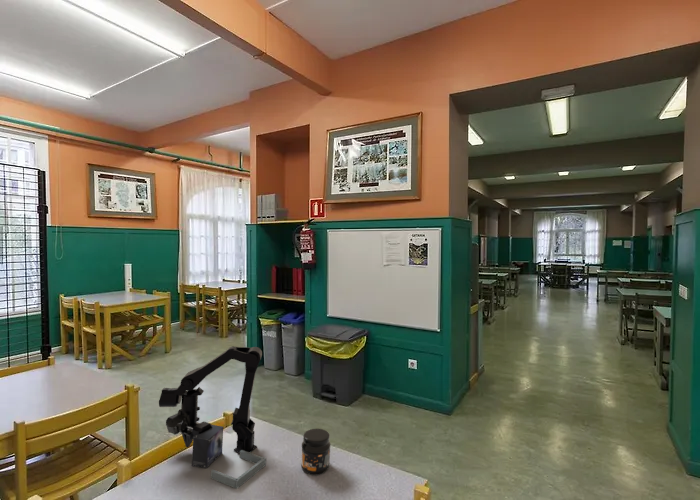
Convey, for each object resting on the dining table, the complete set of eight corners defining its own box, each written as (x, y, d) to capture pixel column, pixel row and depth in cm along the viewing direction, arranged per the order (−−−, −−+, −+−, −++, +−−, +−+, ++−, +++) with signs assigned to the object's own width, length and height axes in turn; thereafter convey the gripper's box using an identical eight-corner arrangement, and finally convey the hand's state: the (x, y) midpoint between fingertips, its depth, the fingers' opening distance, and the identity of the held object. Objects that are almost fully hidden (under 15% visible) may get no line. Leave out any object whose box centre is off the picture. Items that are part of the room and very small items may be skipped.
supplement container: (294, 468, 130) (295, 435, 130) (314, 456, 139) (315, 424, 139) (316, 480, 124) (317, 445, 124) (335, 466, 132) (336, 433, 132)
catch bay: (241, 456, 136) (241, 449, 136) (265, 465, 132) (266, 458, 132) (210, 478, 123) (211, 470, 123) (236, 488, 118) (237, 481, 118)
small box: (207, 469, 128) (208, 439, 128) (190, 466, 129) (191, 437, 129) (223, 453, 138) (224, 425, 138) (208, 450, 140) (209, 423, 140)
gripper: (153, 408, 135) (152, 450, 135) (189, 420, 127) (187, 464, 127) (179, 398, 145) (177, 436, 145) (213, 408, 137) (212, 449, 137)
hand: (187, 446), depth 138 cm, fingers closed
